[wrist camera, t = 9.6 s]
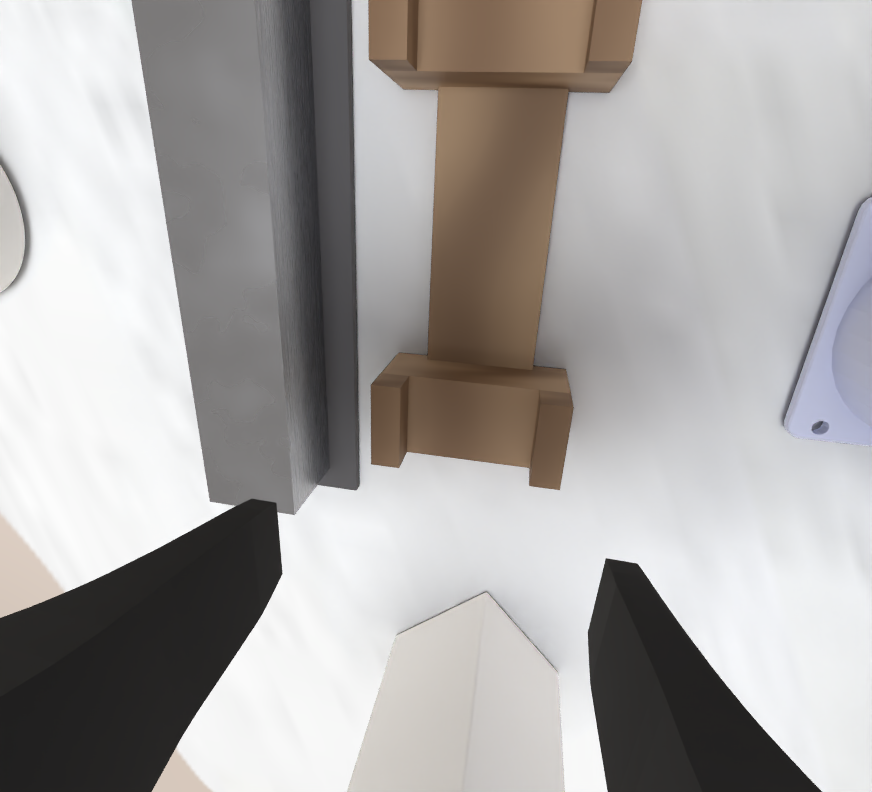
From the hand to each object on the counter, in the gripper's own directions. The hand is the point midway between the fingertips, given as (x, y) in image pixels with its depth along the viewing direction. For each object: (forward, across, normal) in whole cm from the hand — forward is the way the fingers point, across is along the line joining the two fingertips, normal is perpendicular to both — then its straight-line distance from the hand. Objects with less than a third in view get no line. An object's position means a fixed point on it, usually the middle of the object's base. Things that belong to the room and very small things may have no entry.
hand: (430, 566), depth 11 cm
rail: (+9, +8, -6) cm, 14 cm away
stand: (+10, 0, -6) cm, 12 cm away
